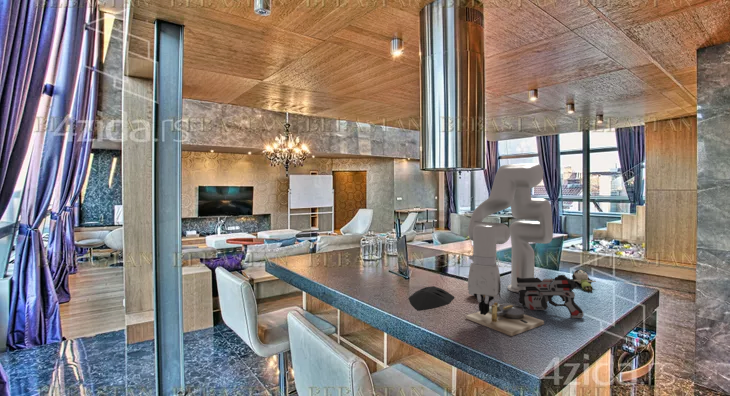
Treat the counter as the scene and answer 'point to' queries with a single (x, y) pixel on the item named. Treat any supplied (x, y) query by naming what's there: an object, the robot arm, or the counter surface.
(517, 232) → the robot arm
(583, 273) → the toy
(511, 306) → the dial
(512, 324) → the board
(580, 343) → the counter surface
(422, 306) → the mask
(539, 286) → the toy blaster
